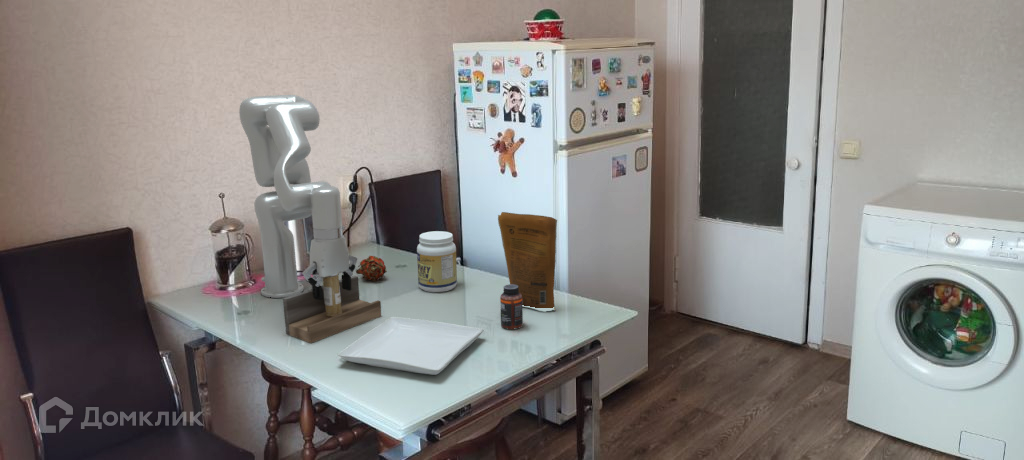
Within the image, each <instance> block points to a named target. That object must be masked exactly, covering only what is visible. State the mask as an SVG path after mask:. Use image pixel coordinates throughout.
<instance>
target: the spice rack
mask: <svg viewBox="0 0 1024 460" xmlns="http://www.w3.org/2000/svg"><path fill="white" fill-rule="evenodd" d="M321 286H322V295H323V299H322V300H317V299H314V297H313V291H312V288H311V289H308V290H305V291H304V290H303V291H302V292H300V293H298V294H295V295H292V296H288V297H282V303H283V312H284V313H283V314H284V324H285V334H286V335H288V336H290V337H293V338H295V339H298V340H301V341H304V342H307V343H309V344H312V343H315V342H317V341H321V340H323V339H325V338H326V339H327V338H329V337H331V336H334V335H336V334H339V333H341V332H344V331H346V330H347V331H348V330H349V329H352V328H355V327H357V326H360V325H362V324H364V323H367V322H369V321H372V320H375V319H378V318H380V317H382V305H381V300H375V301H372V302H369V301H365V300H361V299H360V288H359V287H360V285H359V276H358V275H352V276H351V289H352V290H350V291H349V290H345V289H343V288H342V279H339V286H340V296H341V308H342V314H339V315H336V316H334V317H330V316H327V315H326V314H325V313H326V308H325V301H324V291H323V285H321Z"/></svg>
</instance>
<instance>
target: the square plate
mask: <svg viewBox="0 0 1024 460" xmlns="http://www.w3.org/2000/svg"><path fill="white" fill-rule="evenodd" d="M483 332H484V328H481V327H480V328H479V327H475V326H468V325H467V326H466V325H461V324H454V323H448V322H442V321H435V320H427V319H418V318H409V317H400V316H390V317H389V318H387V319H386V320H384V321H383V322H381V323H380V324H378V325H376V326H375V327H373V328H372V329H371V330H369V331H367V332H366V333H364V334H363V335H362V336H360V337H359V338H358V339H356V340H355V341H353V342H352V343H350V344H349V345H348V346H347V347H345V348H344V349H342V350H341V351H340V352H338V353H337V356H338V357H340V358H342V359H343V360H345V361H347V362H351V363H356V364H361V365H367V366H370V367H377V368H383V369H389V370H390V369H391V370H396V371H403V372H409V373H414V374H423V375H431V376H432V375H433V376H434V375H436V376H437V375H438V374H440V373H441V372H442V371H443V370H444V369H445V368H447V367H448V366H449V364H450V363H451V362H453V360H455V358H457V357H458V356H459V355H460V354H461V353H462V352H464V351H465V350H466V349H467V348H468V347H470V346H472V344H473V343H474V342H475V341H476V340H477V339H478V338H479V337H480V335H482V334H483Z"/></svg>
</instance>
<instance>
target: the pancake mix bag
mask: <svg viewBox="0 0 1024 460" xmlns="http://www.w3.org/2000/svg"><path fill="white" fill-rule="evenodd" d="M497 221H498V223H497V224H498V226H499V232H500V234H501V235H500V236H501V244H502V248H503V251H504V258H505V263H506V268H507V276H508V280H509V281H508V282H509V284H514V285H517V286H518V290H519V291H518V292H519V293H520V294H521V295H522V305H524V306H530V307H535V308H553V307H555V294H554V293H555V292H554V290H555V272H556V270H555V269H556V264H557V263H556V258H557V256H556V253H557V229H558V228H557V227H558V226H557V225H558V224H557V223H558V219H556V218H554V217H551V216H546V215H539V214H529V213H527V214H526V213H514V212H507V211H501V214H497ZM555 308H556V307H555Z"/></svg>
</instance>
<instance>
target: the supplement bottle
mask: <svg viewBox="0 0 1024 460" xmlns="http://www.w3.org/2000/svg"><path fill="white" fill-rule="evenodd" d="M518 291H519V290H518V286H517V285H514V284H510V283H508V284H505V285H504V286H503V292H502V293H501V294H500V297H499V301H500V304H499V305H500V326H501V327H502V328H503V329H505V328H508V329H507V330H515V329H514V328H518V329H520V328H522V326H523V324H524V321H523V320H524V319H523V318H524V317H523V315H524V314H523V307H522V295H521V294H520V293H519V292H518ZM519 327H520V328H519Z"/></svg>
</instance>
